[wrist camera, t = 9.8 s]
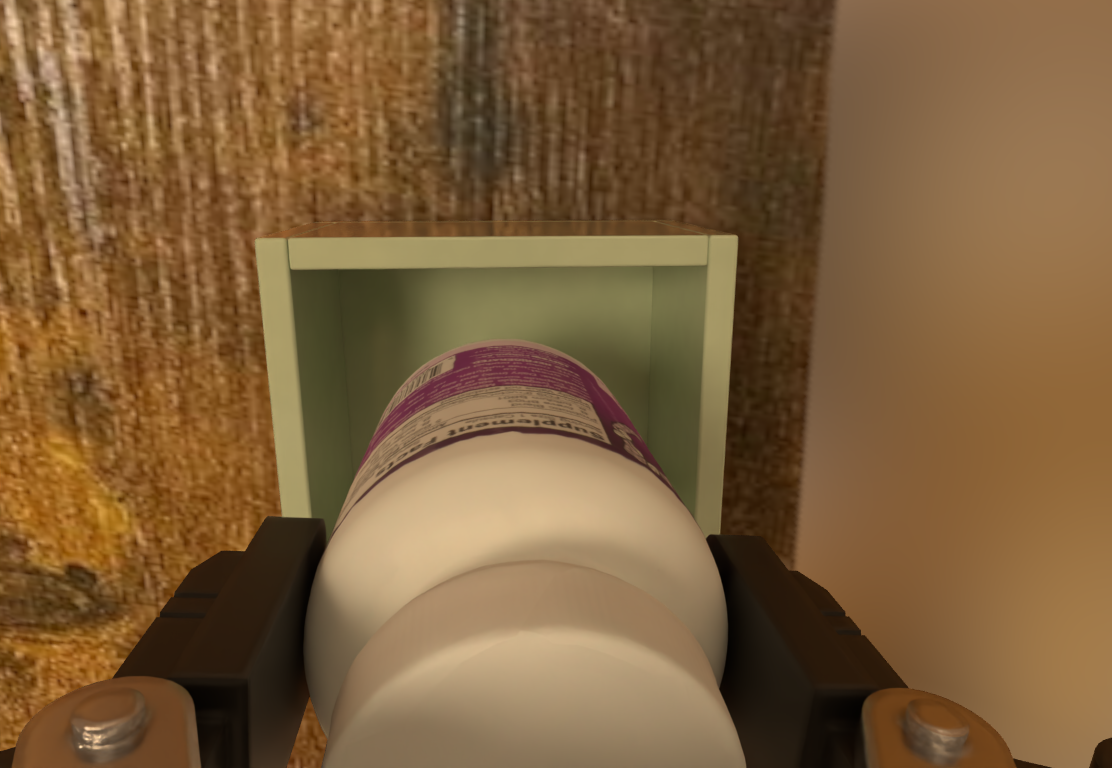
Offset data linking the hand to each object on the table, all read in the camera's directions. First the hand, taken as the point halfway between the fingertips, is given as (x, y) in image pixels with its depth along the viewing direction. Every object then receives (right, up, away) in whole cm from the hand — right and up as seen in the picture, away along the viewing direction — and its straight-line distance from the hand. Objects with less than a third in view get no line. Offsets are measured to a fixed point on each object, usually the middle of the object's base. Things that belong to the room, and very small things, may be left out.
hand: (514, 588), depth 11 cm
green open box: (-1, +3, +10) cm, 11 cm away
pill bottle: (-1, +1, +5) cm, 6 cm away
